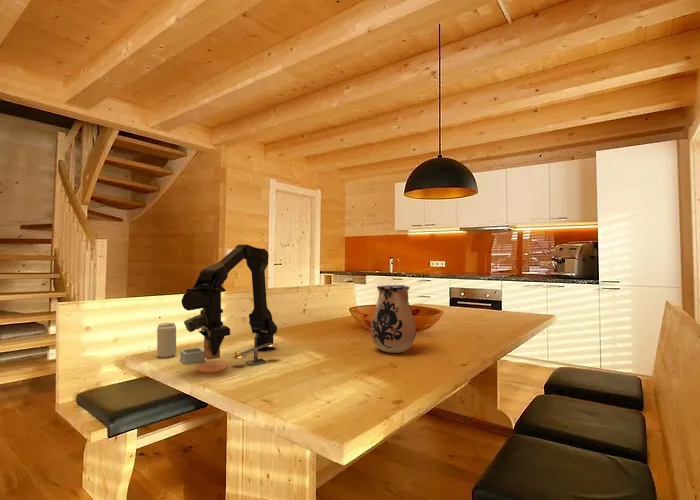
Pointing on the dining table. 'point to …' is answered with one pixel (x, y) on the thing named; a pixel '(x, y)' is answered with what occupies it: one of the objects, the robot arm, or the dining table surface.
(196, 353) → the collar
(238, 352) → the balance
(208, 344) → the block
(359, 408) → the dining table surface
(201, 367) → the dish
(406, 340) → the ceramic pitcher
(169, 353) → the beverage can
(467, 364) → the dining table surface
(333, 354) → the dining table surface
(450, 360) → the dining table surface
